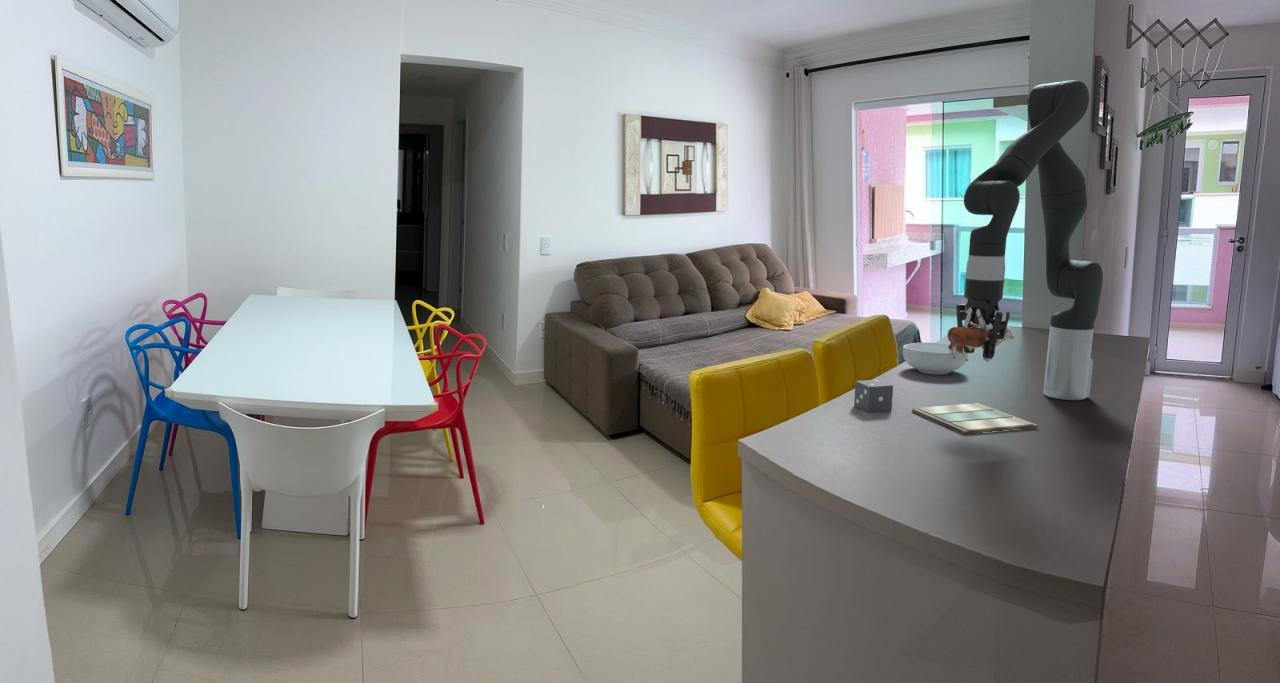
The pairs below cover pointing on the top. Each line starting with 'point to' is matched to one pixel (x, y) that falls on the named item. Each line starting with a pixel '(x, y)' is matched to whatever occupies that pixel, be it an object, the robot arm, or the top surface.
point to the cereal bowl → (932, 358)
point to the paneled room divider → (972, 418)
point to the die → (873, 396)
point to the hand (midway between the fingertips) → (978, 355)
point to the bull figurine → (970, 340)
